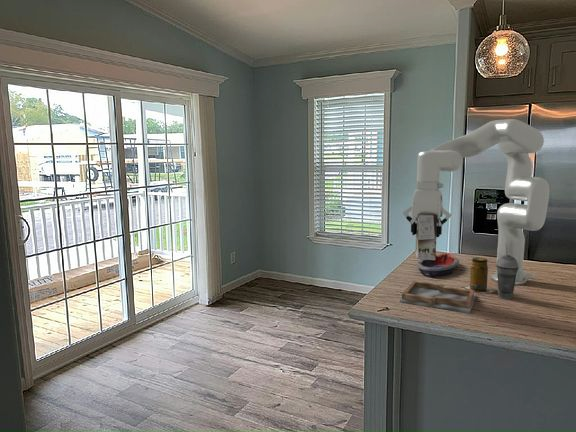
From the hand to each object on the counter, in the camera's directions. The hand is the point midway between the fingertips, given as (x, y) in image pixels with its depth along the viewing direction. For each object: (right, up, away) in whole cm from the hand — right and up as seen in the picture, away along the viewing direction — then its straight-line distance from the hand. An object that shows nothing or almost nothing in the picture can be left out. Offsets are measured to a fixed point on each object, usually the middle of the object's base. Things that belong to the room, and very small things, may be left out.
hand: (425, 235), depth 154 cm
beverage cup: (+29, -23, +2) cm, 37 cm away
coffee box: (0, -8, +1) cm, 8 cm away
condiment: (+24, -22, +11) cm, 34 cm away
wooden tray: (+6, -23, 0) cm, 24 cm away
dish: (+18, -17, +39) cm, 46 cm away
